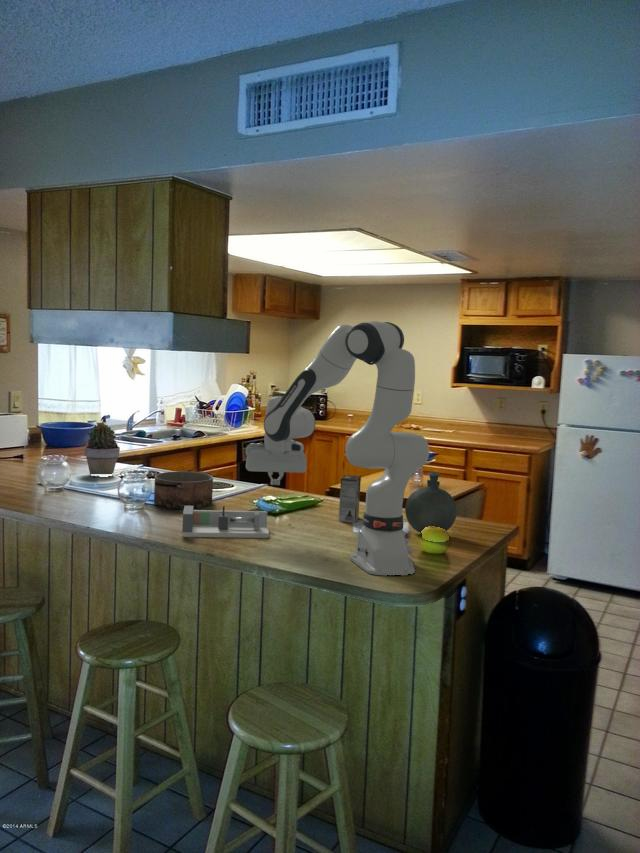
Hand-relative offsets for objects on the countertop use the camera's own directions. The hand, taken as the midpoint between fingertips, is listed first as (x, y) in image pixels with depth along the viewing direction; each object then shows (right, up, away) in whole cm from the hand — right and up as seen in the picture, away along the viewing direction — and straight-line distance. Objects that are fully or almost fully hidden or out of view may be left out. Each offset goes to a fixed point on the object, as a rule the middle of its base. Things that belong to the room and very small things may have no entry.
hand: (275, 484), depth 232 cm
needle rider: (-17, -14, -1) cm, 22 cm away
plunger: (-10, -14, 0) cm, 18 cm away
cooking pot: (-39, -11, +39) cm, 56 cm away
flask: (+53, -19, +11) cm, 58 cm away
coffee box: (+26, -15, +27) cm, 40 cm away
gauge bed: (-16, -16, -1) cm, 23 cm away
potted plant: (-86, -3, +86) cm, 121 cm away
